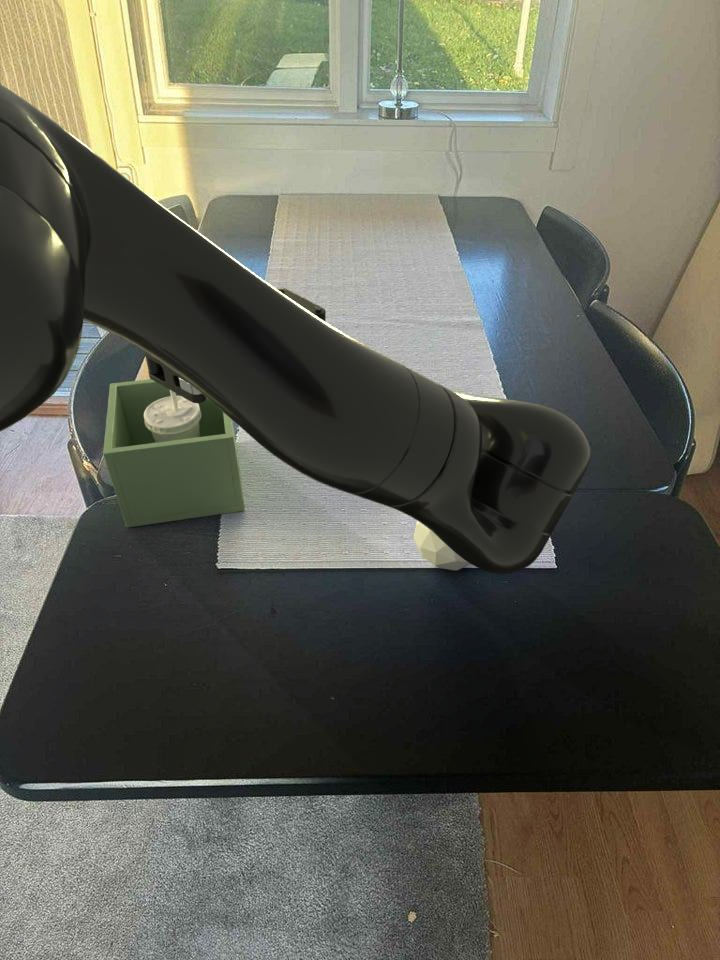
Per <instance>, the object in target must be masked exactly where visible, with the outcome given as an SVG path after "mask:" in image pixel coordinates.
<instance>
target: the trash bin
mask: <svg viewBox="0 0 720 960" xmlns="http://www.w3.org/2000/svg"><path fill="white" fill-rule="evenodd" d="M169 396H171V394H170V390H169V389H168V388H166V387H164V386H162V385H160V384H159V383H157V382H155V381H153V380H151V379H150V378H149V379H139V380H131V381H121V382H113V383H110V384H109V392H108V402H107V410H106V411H107V413H106V421H105V430H104V442H103V451H102V455H103V459H104V462H105V465H106V469H107V471H108V474H109V477H110V481H111V484H112V487H113V490H114V494H115V497H116V500H117V503H118V506H119V509H120V511H121V515H122V519H123V521H124V524H125V528H128V529H129V528H133V527H141V526H147V525H154V524H155V525H156V524H161V523H168V522H174V521H183V520H189V519H197V518H203V517H211V516H216V515H224V514H230V513H231V514H232V513H237V512H244V511H245V510H246V509H245V502H244V495H243V488H242V487H243V486H242V479H241V478H242V477H241V472H240V471H241V470H240V463H239V455H238V447H237V441H236V440H237V439H236V434H235V427H234V421H233V420H232V419H231V418H229V417H228V416H227V415H226V414H225V413H224V412H223V411H221V410H220V409H219V408H218V407H217V406H216V405H215V404H213V403H212V402H211V401H210V400H209V399H208V398H207V399H206V401H204V402H202V403H198V404H199V407H200V411H201V418H200V421H199V434H200V437H197V438H189V439H181V440H174V441H166V442H158V443H156V442H155V440H154V438H153V435H152V433H151V431H150V430H149V429H148V428H147V427H146V425H145V422H144V421H145V420H144V411H145V410H146V408H147V407H148V406H149V405H150V404H151V403H153V402H155V401H157V400H159V399H162V398H165V397H169ZM176 396H180V395H178V394H177V393H176Z"/></svg>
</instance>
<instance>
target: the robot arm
mask: <svg viewBox="0 0 720 960" xmlns="http://www.w3.org/2000/svg"><path fill="white" fill-rule="evenodd" d="M326 314H327V313H326V309H325V308H324V307H322V306H320V305H318V304H316V303H314V302H313V301H311V300H308V299H307V298H306V297H303V296H301V295H299V294H298V293H295V292H293V291H291V290H289V289H287V288H285V287H278V288H276V287H274V286H273V285H271V284H270V283H268V282H267V281H266V280H264V279H263V278H262V277H260V276H259V275H257V274H256V273H254V272H253V271H251V269H249V268H247V266H245V265H243V264H242V263H240V262H239V261H238V260H236V259H235V258H234V257H232V256H231V255H230V254H228V253H227V252H225V251H224V250H223V249H221V248H220V247H219V246H218V245H216V244H215V243H213V242H212V241H211V240H210V239H208V238H207V237H206V236H204V235H203V234H201V233H200V232H198V230H196V229H194V228H193V227H192V226H190V225H189V224H188V223H187V222H185V221H184V220H183V219H181V218H179V216H177V215H176V214H174V213H173V212H172V211H170V210H169V209H168V208H166V207H165V206H164V205H163V204H161V203H160V202H158V201H157V200H155V199H154V198H153V197H151V196H150V194H148V193H146V192H145V191H144V190H143V189H141V188H140V187H139V186H137V185H136V183H133V182H132V181H131V180H130V179H129V178H127V177H126V176H125V175H123V174H122V173H121V172H120V171H118V170H117V169H116V168H114V166H112V165H111V164H110V163H108V161H106V160H105V159H104V158H102V157H101V156H100V155H98V154H97V153H96V152H95V151H94V150H92V149H91V148H90V147H88V146H87V145H86V144H84V143H83V142H82V141H80V140H79V139H78V138H76V137H75V136H74V135H73V134H72V133H70V132H69V131H68V130H67V129H65V128H64V127H63V126H61V125H60V124H59V123H57V122H56V121H55V120H53V118H50V117H49V116H48V115H47V114H45V113H44V112H42V111H41V110H40V109H38V108H37V107H35V106H34V105H33V104H31V103H30V102H29V101H27V100H26V99H24V98H23V97H22V96H20V95H18V94H17V93H15V92H14V91H13V90H10V89H9V88H7V87H6V86H4V85H3V84H2V83H0V433H1V432H3V431H5V430H7V429H8V428H10V427H12V426H13V425H15V424H17V423H18V422H21V421H22V420H23V419H25V418H26V417H27V416H29V415H31V414H32V413H34V411H36V410H37V409H38V408H40V407H41V406H42V405H43V404H45V403H46V402H47V401H48V400H49V399H50V398H51V397H52V396H53V395H54V394H55V393H56V392H57V391H58V390H59V388H60V387H61V386H62V384H63V383H64V382H65V381H66V379H67V377H68V375H69V373H70V371H71V369H72V367H73V365H74V363H75V360H76V358H77V354H78V352H79V349H80V344H81V340H82V334H83V327H84V326H83V325H84V323H87V324H90V325H92V326H95V327H97V328H99V329H101V330H104V331H106V332H108V333H110V334H112V335H114V336H116V337H118V338H120V339H122V340H124V341H125V342H128V343H129V344H131V345H133V346H135V347H137V348H138V349H140V350H142V351H143V355H144V357H145V361H146V365H147V370H148V377H149V379H151V380H153V381H155V382H157V383H159V384H160V385H162V386H164V387H166V388H168V389H169V390H171V391H173V392H175V393H177V394H178V395H180V396H182V397H184V398H186V399H187V400H189V401H191V402H193V403H202V402H204V401H206V399H207V398H208V399H209V400H210V401H211V402H212V403H213V404H215V405H216V406H217V407H218V408H219V409H220V410H221V411H223V412H224V413H225V414H226V415H227V416H228V417H229V418H231V419H232V420H233V423H235V424H236V425H237V426H239V427H240V428H241V429H242V430H244V432H245V433H247V435H249V436H250V437H251V438H252V439H253V440H254V441H255V442H257V443H258V444H259V445H260V446H262V447H263V448H264V449H265V450H266V451H267V452H268V453H270V454H271V455H273V456H274V457H276V458H277V459H278V460H279V461H281V462H282V463H284V464H285V465H287V466H289V467H290V468H292V469H293V470H295V471H297V472H299V473H300V474H302V475H303V476H306V477H307V478H310V479H311V480H313V481H315V482H317V483H320V484H322V485H324V486H327V487H329V488H332V489H335V490H338V491H341V492H343V493H347V494H348V495H349V494H350V495H352V496H356V497H359V498H362V499H365V500H366V501H367V500H368V501H370V502H373V503H376V504H378V505H382V506H385V507H388V508H391V509H393V510H396V511H397V512H401V513H403V514H404V515H406V516H408V517H410V518H412V519H414V520H415V521H416V522H417V521H418V522H420V523H421V524H423V525H424V526H425V527H427V528H428V529H429V530H431V531H432V532H433V533H434V534H435V535H436V536H437V537H438V538H439V539H441V540H442V541H443V542H444V543H445V544H446V545H447V546H448V547H449V548H450V549H452V550H453V551H454V552H455V553H456V554H458V555H459V556H460V557H461V558H463V559H464V560H466V561H467V562H469V563H470V564H469V565H472V566H473V567H476V568H478V569H480V570H482V571H484V572H487V573H491V574H497V575H507V574H513V573H517V572H520V571H522V570H524V569H526V568H527V567H530V566H531V565H532V564H533V563H534V562H535V561H536V560H537V559H538V558H539V556H540V555H541V554H542V552H543V550H544V549H545V547H546V545H547V543H548V541H549V539H550V538H551V535H552V534H553V531H554V530H555V529H556V526H557V524H558V523H559V521H560V519H561V517H562V516H563V514H564V512H565V511H566V508H568V505H569V503H570V501H571V499H572V498H573V496H572V495H574V494H575V492H576V491H577V489H578V487H579V485H580V483H581V482H582V480H583V479H584V477H585V475H586V472H587V470H588V468H589V465H590V463H591V458H592V451H591V446H590V445H591V444H590V443H589V441H588V439H587V435H586V434H585V433H584V432H583V429H582V428H581V427H580V425H578V424H577V422H576V421H574V420H573V419H572V418H571V417H570V416H568V415H567V414H565V413H563V412H561V411H560V410H557V409H555V408H552V407H551V406H547V405H543V404H539V403H534V402H529V401H525V400H518V399H510V398H502V397H501V398H500V397H491V396H483V395H477V394H470V393H465V392H461V391H456V390H453V389H450V388H447V387H445V386H444V385H442V384H440V383H439V382H436V381H434V380H432V379H430V378H429V377H427V376H424V375H423V374H421V373H419V372H417V371H416V370H413V369H412V368H410V367H408V366H406V365H404V364H402V363H400V362H399V361H397V360H395V359H392V358H391V357H389V356H387V355H385V354H383V353H381V352H379V351H377V350H376V349H374V348H371V347H369V346H368V345H366V344H364V343H362V342H361V341H359V340H357V339H355V338H354V337H352V336H351V335H350V336H349V335H348V334H346V333H344V332H343V331H342V330H340V329H338V328H337V327H335V326H333V325H332V324H330V323H328V322H327V321H326V320H327V319H326V316H327V315H326Z"/></svg>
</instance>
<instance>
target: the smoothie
mask: <svg viewBox="0 0 720 960" xmlns="http://www.w3.org/2000/svg"><path fill="white" fill-rule="evenodd" d="M170 394H171V396H169V397H165V398H162V399H159V400H157V401H155V402H153V403H151V404H150V405H149V406H148V407H147V408H146V410H145V411H144V420H145V421H144V422H145V425H146V427H147V428H148V429H149V430H150V431H151V433H152V435H153V438H154V440H155V442H156V443H158V442H166V441H174V440H181V439H189V438H197V437H200V434H199V421H200V418H201V411H200V407H199V404H198V403H193V402H191V401H189V400H187V399H186V398H184V397H182V396H176V393H175V392H173V391H171V390H170Z"/></svg>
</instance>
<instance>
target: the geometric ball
mask: <svg viewBox="0 0 720 960" xmlns="http://www.w3.org/2000/svg"><path fill="white" fill-rule="evenodd" d="M413 540H414V542H415V545H416V547H417V549H418V551H419V554H420V555H421V557H422V558H423V559H424V560H426V561H427V562H429V563H431V564H432V565H434V566H435V567H436V568H438V569H443V570H449V571H456V572H457V571H459V570H461V569H463V568H465V567H467V566H469V565H471V564H470V563H469V562H467V561H466V560H464V559H463V558H461V557H460V556H459V555H458V554H456V553H455V552H454V551H453V550H452V549H450V548H449V547H448V546H447V545H446V544H445V543H444V542H443V541H442V540H441V539H439V538H438V537H437V536H436V535H435V534H434V533H433V532H432V531H431V530H429V529H428V528H427V527H425V526H424V525H423V524H421V523H420V522H418V521H417V520H416V524H415V529H414V534H413Z"/></svg>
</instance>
